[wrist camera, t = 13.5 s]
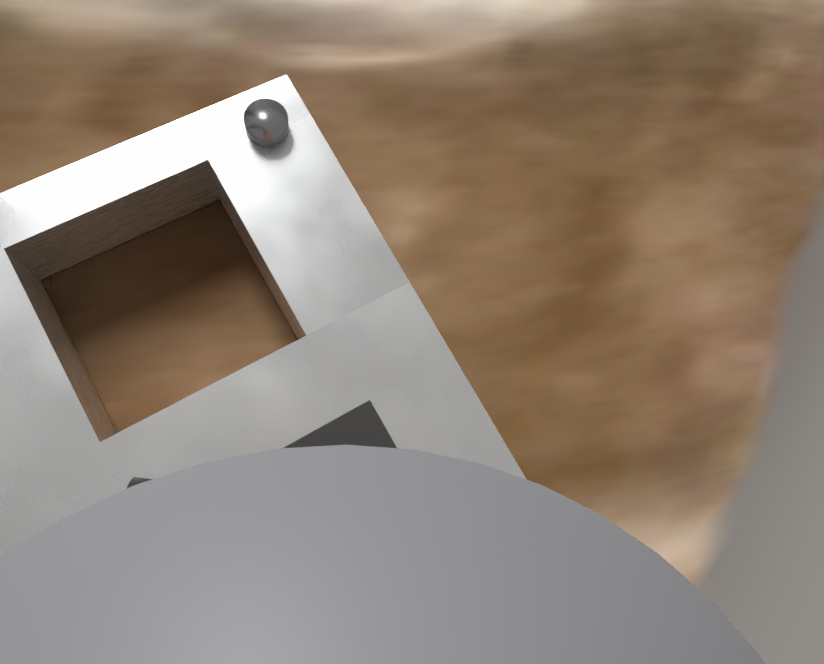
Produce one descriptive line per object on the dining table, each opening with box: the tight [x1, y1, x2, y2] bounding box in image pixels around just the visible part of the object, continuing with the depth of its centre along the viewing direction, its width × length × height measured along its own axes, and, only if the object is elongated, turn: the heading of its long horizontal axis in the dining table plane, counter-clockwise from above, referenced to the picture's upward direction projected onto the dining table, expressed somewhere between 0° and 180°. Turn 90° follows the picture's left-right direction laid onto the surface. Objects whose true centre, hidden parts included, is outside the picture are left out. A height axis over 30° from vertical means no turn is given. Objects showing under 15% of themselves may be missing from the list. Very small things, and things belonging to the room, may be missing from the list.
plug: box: [0, 445, 765, 664], centre depth 11 cm, size 5×5×17 cm
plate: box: [0, 74, 526, 556], centre depth 22 cm, size 20×14×4 cm
